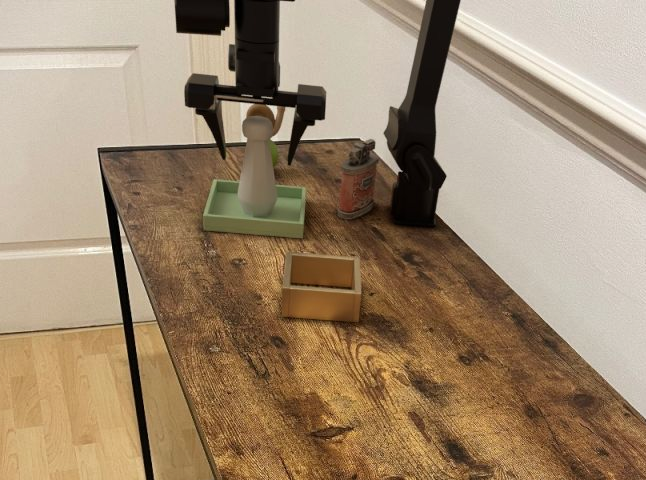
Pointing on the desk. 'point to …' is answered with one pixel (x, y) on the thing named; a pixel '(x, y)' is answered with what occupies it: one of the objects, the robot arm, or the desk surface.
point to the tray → (230, 216)
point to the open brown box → (317, 299)
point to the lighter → (358, 180)
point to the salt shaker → (257, 168)
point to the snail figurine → (267, 113)
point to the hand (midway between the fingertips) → (256, 161)
